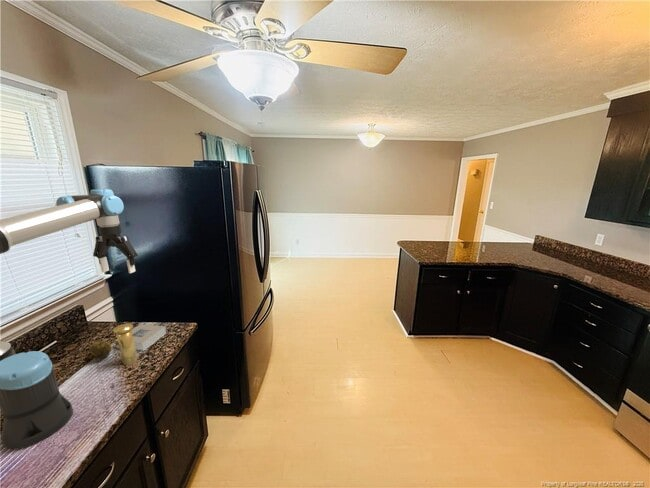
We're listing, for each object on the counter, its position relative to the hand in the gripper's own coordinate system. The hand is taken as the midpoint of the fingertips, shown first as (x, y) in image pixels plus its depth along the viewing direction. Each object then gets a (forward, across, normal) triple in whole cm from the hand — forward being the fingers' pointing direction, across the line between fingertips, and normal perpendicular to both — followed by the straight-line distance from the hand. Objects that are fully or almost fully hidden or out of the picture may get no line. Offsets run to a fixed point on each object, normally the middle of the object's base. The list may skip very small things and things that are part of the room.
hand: (119, 271), depth 119 cm
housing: (+35, -5, 0) cm, 35 cm away
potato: (+35, +4, +12) cm, 37 cm away
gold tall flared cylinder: (+35, -12, +14) cm, 39 cm away
